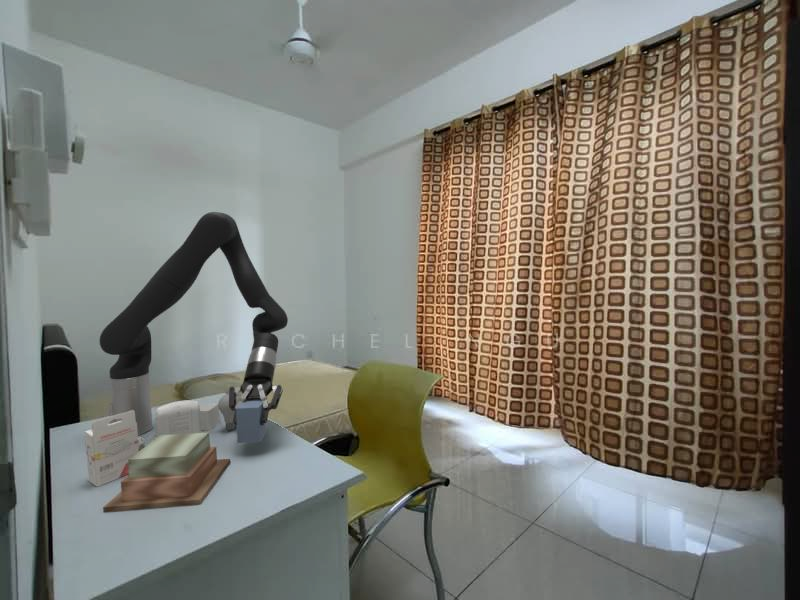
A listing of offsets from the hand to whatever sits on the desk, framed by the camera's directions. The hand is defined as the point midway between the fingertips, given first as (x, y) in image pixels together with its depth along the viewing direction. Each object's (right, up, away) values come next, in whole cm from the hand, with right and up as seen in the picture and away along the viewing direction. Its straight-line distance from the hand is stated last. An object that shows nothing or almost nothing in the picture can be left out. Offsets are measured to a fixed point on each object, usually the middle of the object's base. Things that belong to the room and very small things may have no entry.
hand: (249, 424), depth 89 cm
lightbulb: (-12, -7, +16) cm, 21 cm away
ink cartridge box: (-28, -9, -8) cm, 30 cm away
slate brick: (0, -4, +2) cm, 5 cm away
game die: (-32, -8, +5) cm, 34 cm away
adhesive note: (-22, -7, +19) cm, 30 cm away
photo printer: (-21, -8, +6) cm, 24 cm away
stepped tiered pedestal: (-11, -9, -12) cm, 19 cm away
